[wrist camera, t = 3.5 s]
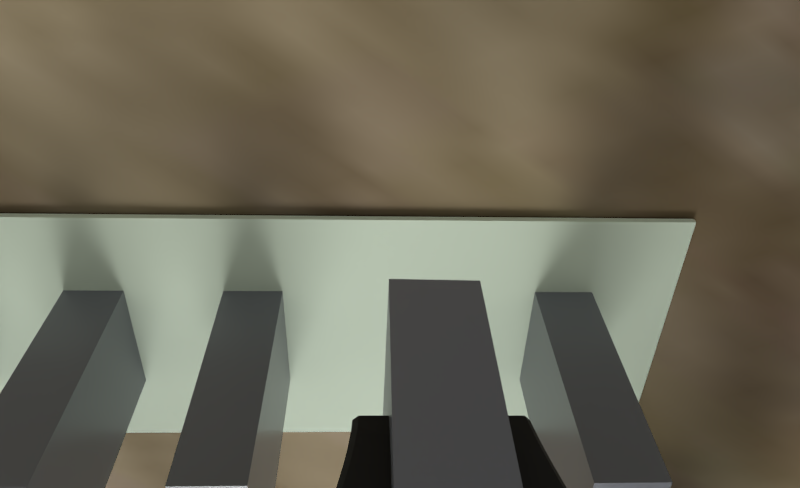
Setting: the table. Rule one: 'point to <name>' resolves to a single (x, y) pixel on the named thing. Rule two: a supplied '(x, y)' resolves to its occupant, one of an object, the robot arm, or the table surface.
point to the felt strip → (330, 291)
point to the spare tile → (445, 389)
